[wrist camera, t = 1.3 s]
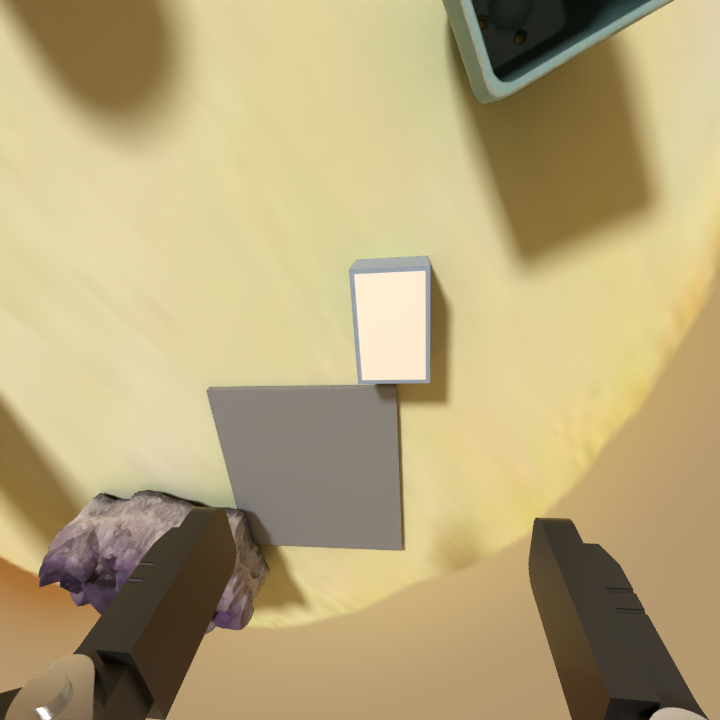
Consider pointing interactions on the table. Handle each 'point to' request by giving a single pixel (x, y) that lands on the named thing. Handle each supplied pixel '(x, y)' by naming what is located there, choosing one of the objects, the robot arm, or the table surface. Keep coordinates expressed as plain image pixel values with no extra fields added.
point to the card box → (391, 319)
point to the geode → (142, 553)
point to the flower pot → (532, 37)
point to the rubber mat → (313, 463)
